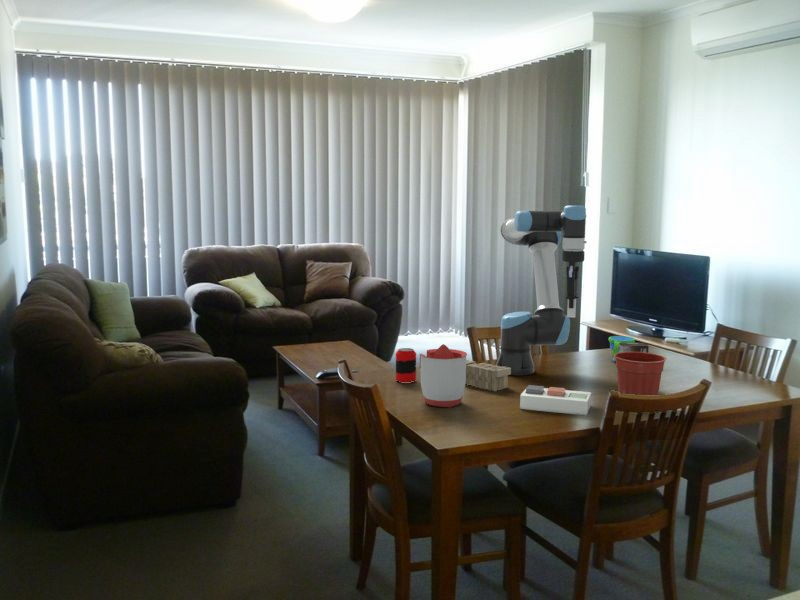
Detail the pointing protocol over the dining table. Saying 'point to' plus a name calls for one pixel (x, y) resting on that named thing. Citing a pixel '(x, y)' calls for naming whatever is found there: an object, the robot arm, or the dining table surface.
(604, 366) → the dining table surface
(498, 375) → the block tower
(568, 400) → the key panel
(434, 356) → the citrus juicer
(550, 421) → the dining table surface
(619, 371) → the flower pot
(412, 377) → the soda can
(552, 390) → the brick key
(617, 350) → the snack cup
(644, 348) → the coffee box
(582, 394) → the sage key
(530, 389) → the charcoal key
